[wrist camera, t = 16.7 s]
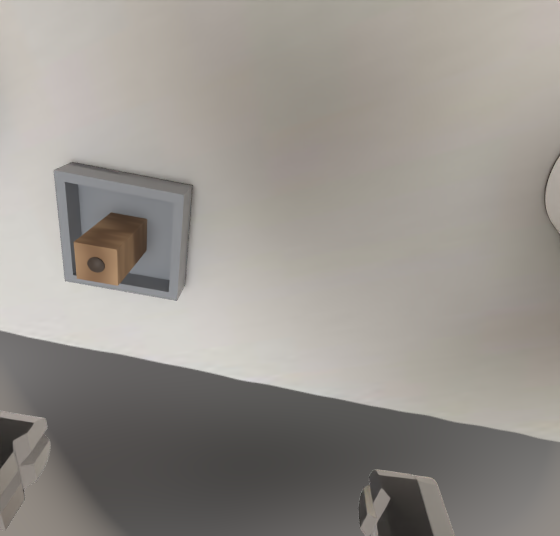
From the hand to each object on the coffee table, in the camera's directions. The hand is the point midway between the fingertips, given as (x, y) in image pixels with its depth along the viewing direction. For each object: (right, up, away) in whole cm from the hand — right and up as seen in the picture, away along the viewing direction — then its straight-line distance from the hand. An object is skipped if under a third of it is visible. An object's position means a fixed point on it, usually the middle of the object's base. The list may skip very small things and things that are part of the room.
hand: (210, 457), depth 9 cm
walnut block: (-15, +9, +34) cm, 38 cm away
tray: (-15, +9, +34) cm, 39 cm away
